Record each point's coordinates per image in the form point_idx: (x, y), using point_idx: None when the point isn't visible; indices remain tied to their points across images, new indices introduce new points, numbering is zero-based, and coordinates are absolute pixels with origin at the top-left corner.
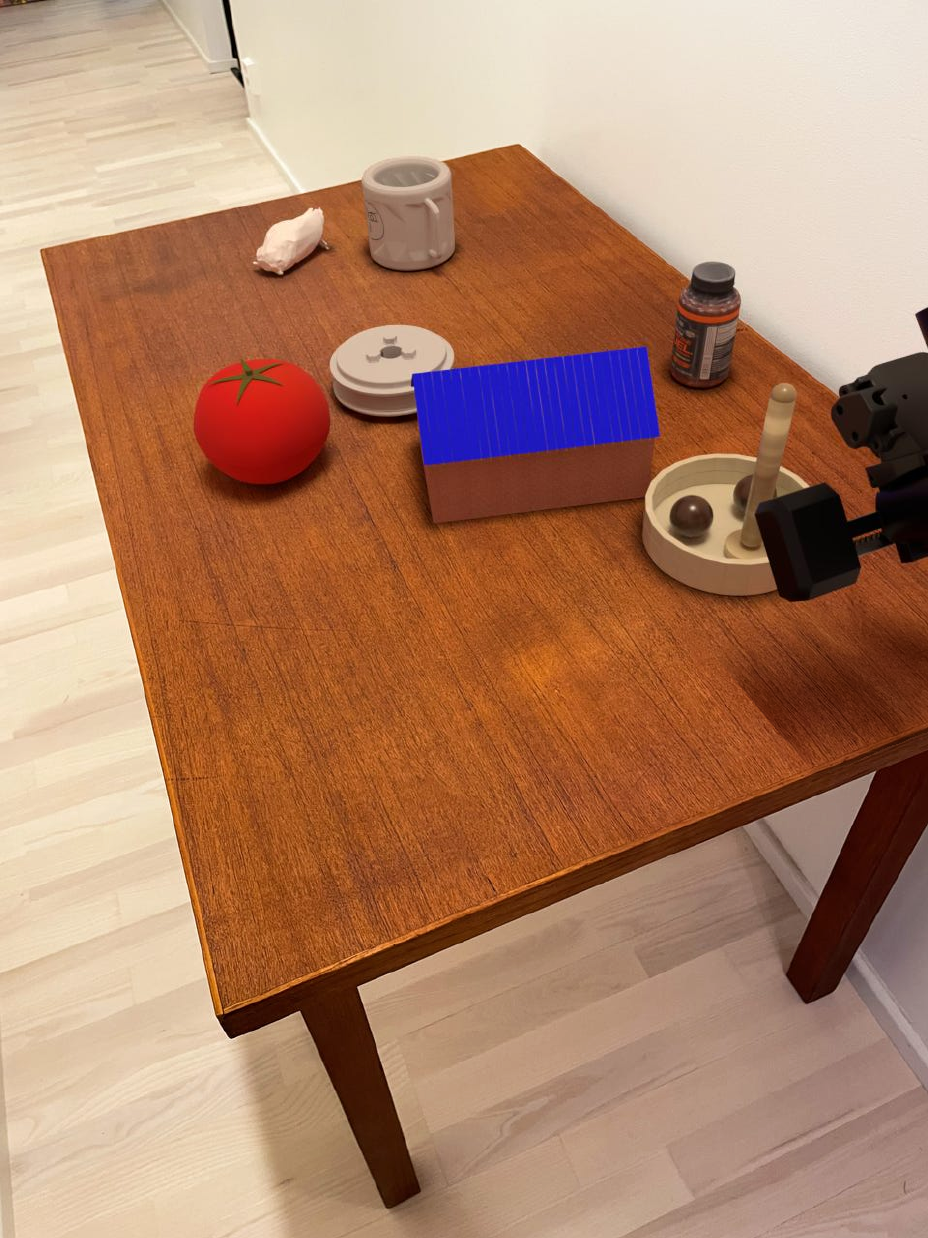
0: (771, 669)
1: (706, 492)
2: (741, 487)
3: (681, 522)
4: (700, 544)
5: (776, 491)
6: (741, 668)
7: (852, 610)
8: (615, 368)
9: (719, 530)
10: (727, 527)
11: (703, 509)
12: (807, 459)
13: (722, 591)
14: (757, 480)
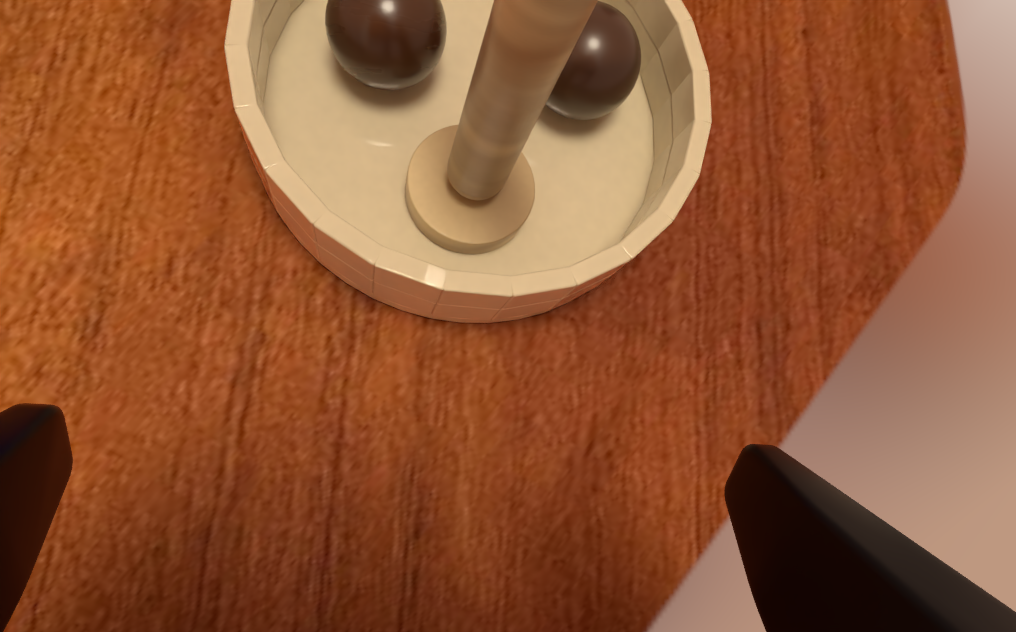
0: (252, 547)
1: None
2: None
3: (332, 28)
4: (384, 108)
5: (629, 84)
6: (182, 506)
7: (574, 470)
8: None
9: (458, 98)
10: None
11: (396, 26)
12: (783, 39)
13: (323, 263)
14: (487, 34)
